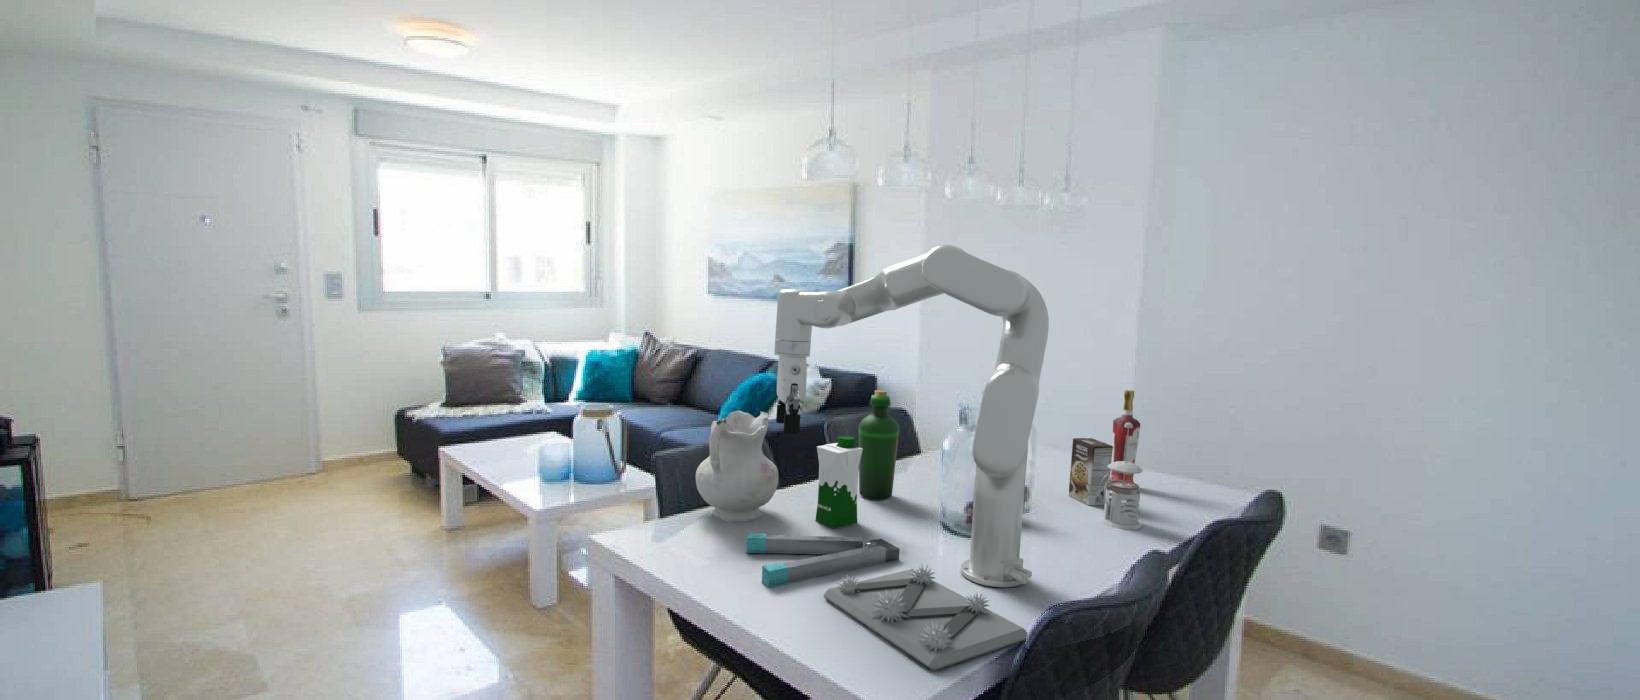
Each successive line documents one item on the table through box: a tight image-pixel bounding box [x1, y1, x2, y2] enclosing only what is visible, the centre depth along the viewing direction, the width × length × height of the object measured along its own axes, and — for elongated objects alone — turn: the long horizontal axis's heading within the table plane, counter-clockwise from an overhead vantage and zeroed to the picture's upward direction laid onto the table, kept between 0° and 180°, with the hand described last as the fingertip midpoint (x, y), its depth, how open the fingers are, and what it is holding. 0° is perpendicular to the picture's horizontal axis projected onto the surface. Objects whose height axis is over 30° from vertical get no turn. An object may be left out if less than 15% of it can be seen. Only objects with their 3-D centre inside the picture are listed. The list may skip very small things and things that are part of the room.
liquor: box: [1110, 389, 1141, 483], centre depth 219 cm, size 7×7×28 cm
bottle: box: [858, 389, 900, 501], centre depth 199 cm, size 11×11×28 cm
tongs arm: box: [745, 532, 877, 555], centre depth 157 cm, size 27×5×3 cm, turn 92°
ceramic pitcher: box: [695, 410, 779, 523], centre depth 179 cm, size 22×20×25 cm
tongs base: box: [761, 538, 900, 589], centre depth 151 cm, size 30×7×3 cm, turn 122°
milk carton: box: [815, 435, 863, 530], centre depth 177 cm, size 9×9×20 cm
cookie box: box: [1068, 437, 1113, 506], centre depth 204 cm, size 9×6×16 cm
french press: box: [1099, 423, 1144, 530], centre depth 185 cm, size 10×12×25 cm
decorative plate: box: [823, 563, 1029, 672], centre depth 130 cm, size 30×22×7 cm
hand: (787, 428), depth 162 cm, fingers open, 9 cm apart
